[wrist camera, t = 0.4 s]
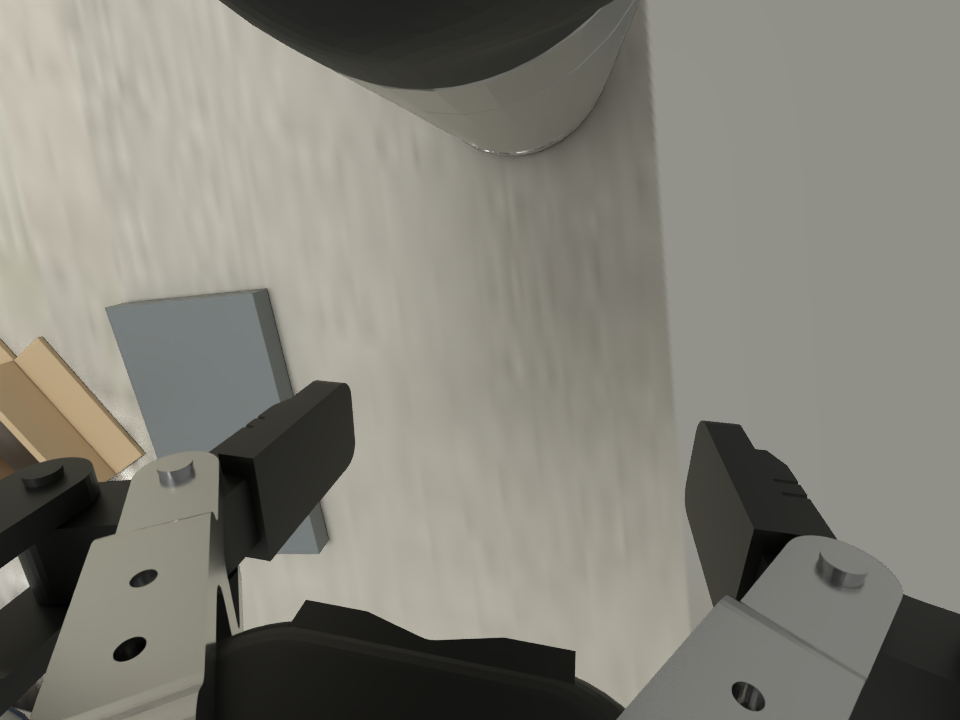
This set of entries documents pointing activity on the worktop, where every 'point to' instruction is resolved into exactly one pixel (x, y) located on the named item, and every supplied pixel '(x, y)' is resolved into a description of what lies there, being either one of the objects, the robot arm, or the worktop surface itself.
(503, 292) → the worktop surface
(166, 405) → the blue-grey flat slab
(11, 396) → the carton
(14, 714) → the ramen bowl
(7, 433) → the walnut block
